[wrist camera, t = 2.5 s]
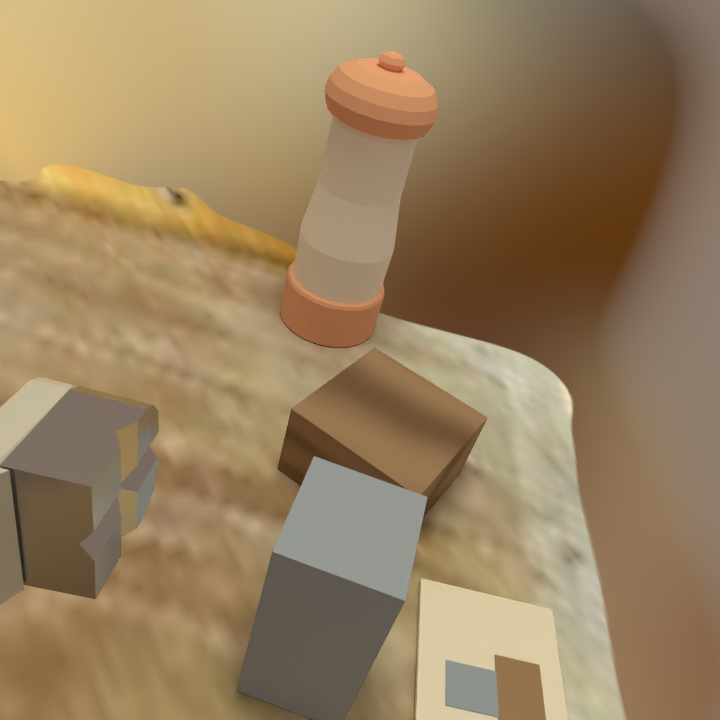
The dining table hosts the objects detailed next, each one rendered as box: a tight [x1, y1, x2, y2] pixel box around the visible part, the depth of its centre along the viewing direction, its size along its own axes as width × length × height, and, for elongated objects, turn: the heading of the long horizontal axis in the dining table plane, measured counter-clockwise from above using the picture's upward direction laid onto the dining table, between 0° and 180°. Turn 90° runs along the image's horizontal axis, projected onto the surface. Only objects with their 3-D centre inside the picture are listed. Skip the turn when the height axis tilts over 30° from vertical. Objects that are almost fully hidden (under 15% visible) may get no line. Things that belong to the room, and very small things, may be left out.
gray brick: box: [236, 456, 427, 720], centre depth 25 cm, size 4×4×10 cm
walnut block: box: [278, 348, 487, 517], centre depth 36 cm, size 8×8×5 cm
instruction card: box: [414, 578, 568, 720], centre depth 29 cm, size 10×7×1 cm
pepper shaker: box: [280, 51, 439, 347], centre depth 43 cm, size 7×7×19 cm
